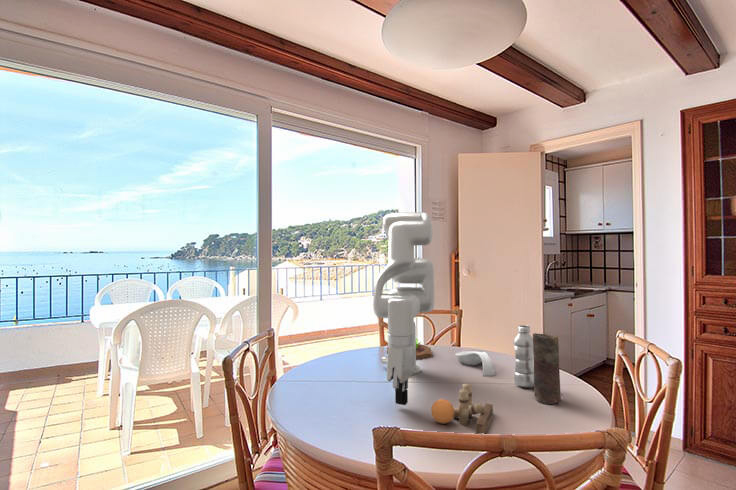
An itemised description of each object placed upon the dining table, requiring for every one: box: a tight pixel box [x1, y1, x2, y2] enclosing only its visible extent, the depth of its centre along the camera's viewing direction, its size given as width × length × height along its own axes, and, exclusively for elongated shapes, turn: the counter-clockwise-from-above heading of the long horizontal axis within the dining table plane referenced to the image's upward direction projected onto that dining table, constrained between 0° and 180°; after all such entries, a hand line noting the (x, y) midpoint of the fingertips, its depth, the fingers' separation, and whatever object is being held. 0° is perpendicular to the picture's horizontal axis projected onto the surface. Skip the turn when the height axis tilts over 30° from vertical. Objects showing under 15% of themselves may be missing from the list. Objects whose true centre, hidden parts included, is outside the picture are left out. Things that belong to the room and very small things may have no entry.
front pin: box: [453, 402, 484, 419], centre depth 108 cm, size 2×2×8 cm
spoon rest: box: [455, 350, 496, 377], centre depth 156 cm, size 24×12×7 cm, turn 9°
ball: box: [430, 398, 455, 425], centre depth 106 cm, size 6×6×6 cm
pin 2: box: [458, 389, 470, 426], centre depth 106 cm, size 2×2×8 cm
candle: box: [532, 332, 562, 405], centre depth 122 cm, size 8×7×20 cm
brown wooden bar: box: [475, 403, 494, 434], centre depth 106 cm, size 2×14×2 cm, turn 155°
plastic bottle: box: [513, 325, 534, 388], centre depth 134 cm, size 6×7×20 cm
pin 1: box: [462, 383, 473, 419], centre depth 110 cm, size 2×2×8 cm
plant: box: [386, 338, 433, 361], centre depth 177 cm, size 20×20×11 cm
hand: (401, 403), depth 116 cm, fingers closed
